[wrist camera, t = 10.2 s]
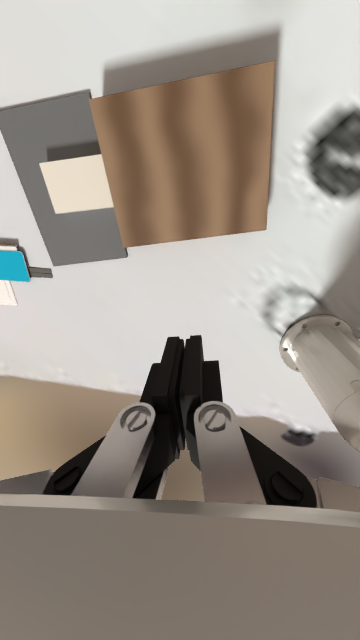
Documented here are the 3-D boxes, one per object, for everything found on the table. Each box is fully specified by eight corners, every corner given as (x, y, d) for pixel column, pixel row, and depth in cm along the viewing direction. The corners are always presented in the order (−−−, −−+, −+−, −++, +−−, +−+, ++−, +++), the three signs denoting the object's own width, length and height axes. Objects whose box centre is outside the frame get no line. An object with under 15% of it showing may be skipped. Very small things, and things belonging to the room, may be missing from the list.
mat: (89, 93, 27) (88, 92, 27) (127, 257, 36) (126, 257, 36) (-4, 113, 28) (-7, 112, 28) (55, 265, 37) (53, 266, 37)
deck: (263, 80, 25) (274, 60, 22) (258, 227, 33) (266, 229, 29) (102, 113, 28) (88, 99, 24) (130, 243, 35) (123, 247, 31)
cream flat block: (109, 156, 29) (104, 153, 28) (119, 206, 32) (115, 206, 30) (48, 165, 30) (39, 163, 29) (62, 213, 33) (55, 213, 31)
